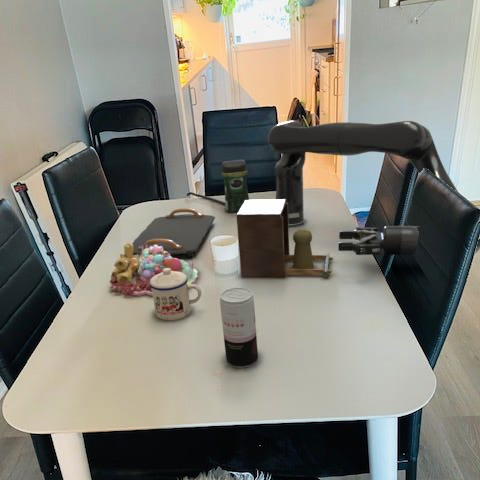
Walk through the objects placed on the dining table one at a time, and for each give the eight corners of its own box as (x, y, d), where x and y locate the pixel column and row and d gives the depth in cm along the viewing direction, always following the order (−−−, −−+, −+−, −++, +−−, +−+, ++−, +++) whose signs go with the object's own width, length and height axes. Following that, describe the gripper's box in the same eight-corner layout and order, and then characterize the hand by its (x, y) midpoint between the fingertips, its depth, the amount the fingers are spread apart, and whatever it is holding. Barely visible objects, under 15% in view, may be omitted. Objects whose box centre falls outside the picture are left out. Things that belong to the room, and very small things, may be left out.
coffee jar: (248, 205, 197) (245, 157, 188) (251, 211, 190) (247, 161, 181) (224, 207, 196) (219, 159, 187) (226, 213, 189) (221, 164, 180)
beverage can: (235, 348, 106) (229, 285, 99) (263, 354, 103) (259, 289, 96) (220, 364, 101) (212, 299, 94) (249, 371, 98) (243, 304, 91)
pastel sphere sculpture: (100, 300, 132) (92, 268, 127) (121, 265, 152) (115, 236, 148) (193, 295, 130) (189, 262, 126) (202, 260, 151) (198, 231, 146)
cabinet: (289, 259, 146) (287, 199, 137) (284, 278, 135) (282, 213, 126) (249, 259, 148) (245, 199, 140) (241, 277, 137) (236, 214, 129)
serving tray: (194, 262, 149) (192, 243, 146) (122, 263, 153) (118, 244, 150) (218, 220, 183) (216, 204, 180) (158, 222, 186) (155, 206, 183)
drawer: (332, 258, 143) (332, 253, 142) (331, 277, 132) (331, 271, 131) (284, 258, 146) (284, 253, 145) (279, 276, 135) (278, 271, 134)
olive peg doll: (313, 263, 142) (313, 226, 136) (314, 272, 137) (314, 234, 131) (292, 264, 143) (291, 227, 137) (292, 273, 137) (291, 235, 132)
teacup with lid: (151, 322, 119) (143, 278, 113) (159, 304, 127) (151, 262, 121) (201, 320, 118) (195, 275, 112) (205, 302, 126) (200, 260, 120)
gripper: (400, 217, 134) (339, 218, 138) (405, 236, 122) (338, 236, 126) (398, 244, 138) (339, 244, 141) (402, 264, 126) (337, 264, 129)
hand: (338, 240), depth 134 cm, fingers open, 8 cm apart
